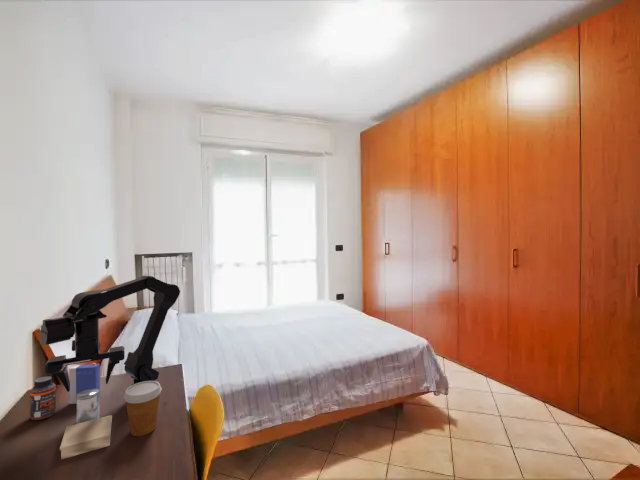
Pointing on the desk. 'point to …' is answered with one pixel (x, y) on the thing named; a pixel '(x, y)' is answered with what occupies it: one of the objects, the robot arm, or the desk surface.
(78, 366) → the walkman
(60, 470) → the desk surface
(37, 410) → the supplement bottle
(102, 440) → the oak box
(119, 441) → the desk surface
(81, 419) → the tin
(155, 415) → the disposable coffee cup
